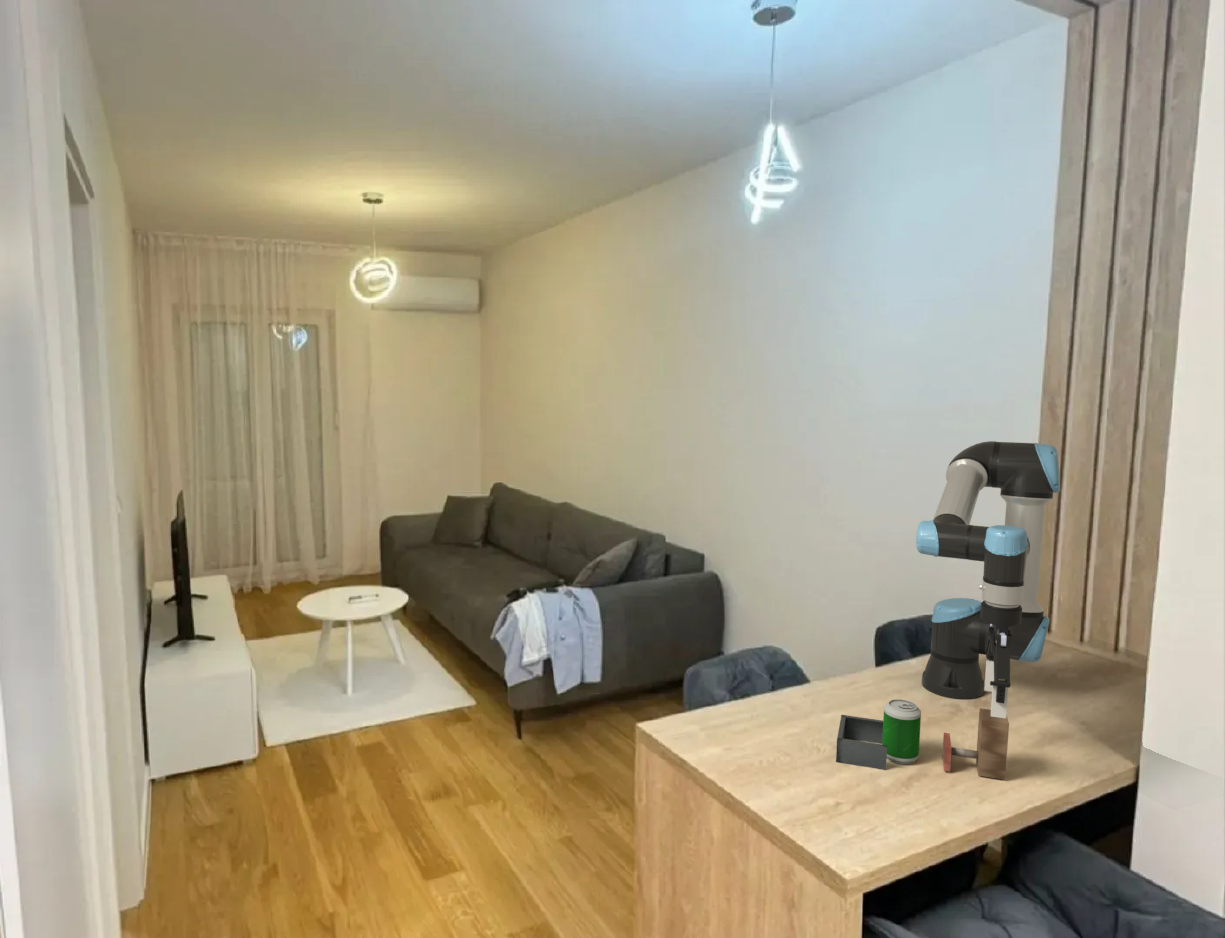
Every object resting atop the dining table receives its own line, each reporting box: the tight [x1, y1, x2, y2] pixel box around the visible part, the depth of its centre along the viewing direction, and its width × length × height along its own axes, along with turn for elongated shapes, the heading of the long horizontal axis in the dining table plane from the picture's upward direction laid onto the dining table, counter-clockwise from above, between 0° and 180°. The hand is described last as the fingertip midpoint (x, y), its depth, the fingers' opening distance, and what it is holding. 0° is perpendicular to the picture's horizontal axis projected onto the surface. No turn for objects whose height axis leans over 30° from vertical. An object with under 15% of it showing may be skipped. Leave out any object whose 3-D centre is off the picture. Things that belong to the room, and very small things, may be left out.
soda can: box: [882, 698, 922, 765], centre depth 174 cm, size 8×8×12 cm
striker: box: [942, 707, 1010, 780], centre depth 169 cm, size 12×7×12 cm, turn 70°
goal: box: [835, 714, 888, 771], centre depth 177 cm, size 10×13×5 cm
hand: (994, 703), depth 166 cm, fingers open, 13 cm apart
